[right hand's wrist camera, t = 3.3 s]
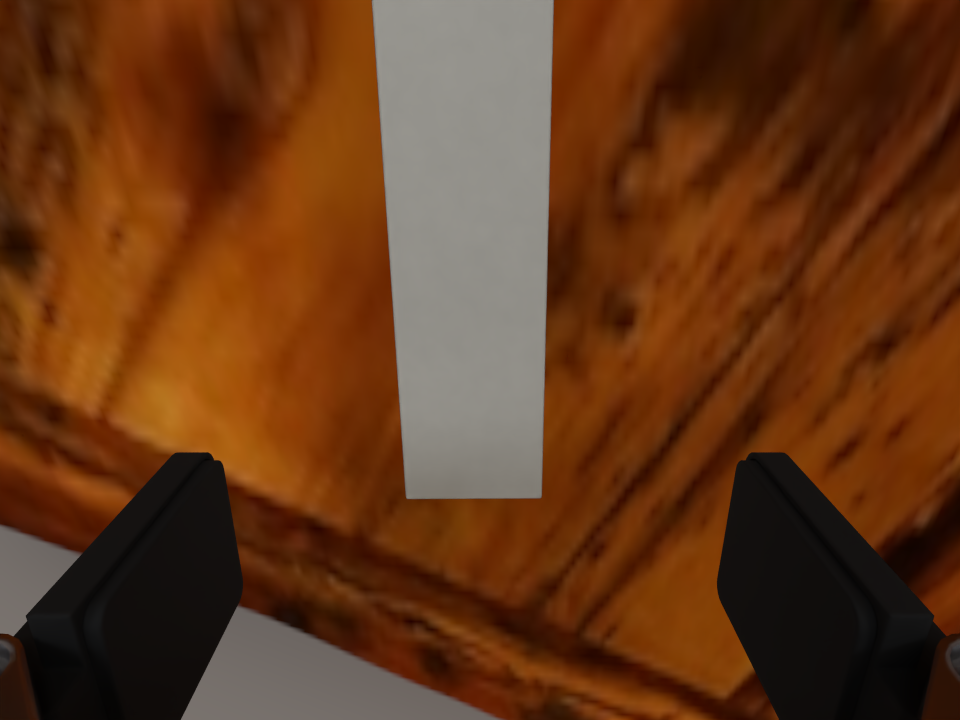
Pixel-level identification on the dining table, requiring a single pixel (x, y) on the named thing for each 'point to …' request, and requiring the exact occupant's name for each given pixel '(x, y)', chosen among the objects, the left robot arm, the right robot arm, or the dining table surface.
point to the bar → (468, 237)
